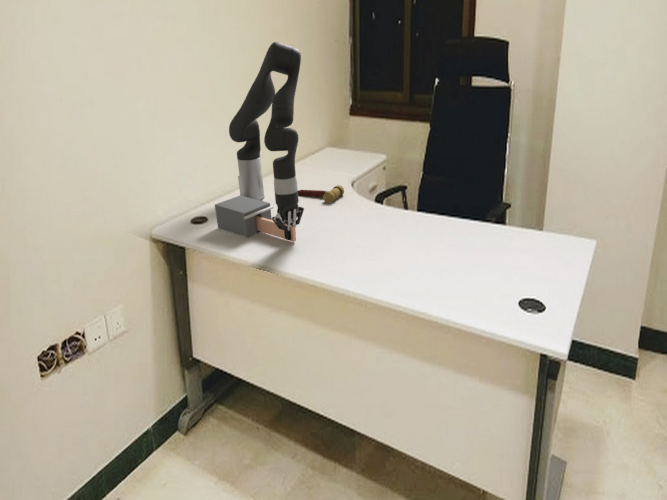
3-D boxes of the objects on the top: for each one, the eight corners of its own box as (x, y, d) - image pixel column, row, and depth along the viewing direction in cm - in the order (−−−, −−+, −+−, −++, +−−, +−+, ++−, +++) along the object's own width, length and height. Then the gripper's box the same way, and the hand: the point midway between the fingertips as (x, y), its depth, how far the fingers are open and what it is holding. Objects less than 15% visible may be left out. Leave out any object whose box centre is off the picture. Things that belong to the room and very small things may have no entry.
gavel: (287, 190, 231) (299, 183, 239) (289, 201, 233) (301, 194, 241) (332, 192, 222) (343, 185, 230) (333, 203, 224) (344, 195, 232)
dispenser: (217, 228, 205) (213, 205, 201) (244, 217, 214) (241, 194, 210) (248, 238, 195) (245, 214, 191) (275, 226, 203) (273, 203, 200)
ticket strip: (247, 227, 202) (246, 214, 200) (250, 226, 203) (248, 213, 201) (293, 241, 189) (292, 227, 186) (296, 240, 189) (294, 226, 187)
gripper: (292, 182, 190) (296, 230, 197) (262, 193, 180) (268, 243, 188) (308, 186, 185) (312, 234, 192) (279, 197, 176) (284, 248, 183)
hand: (290, 238), depth 190 cm, fingers closed
